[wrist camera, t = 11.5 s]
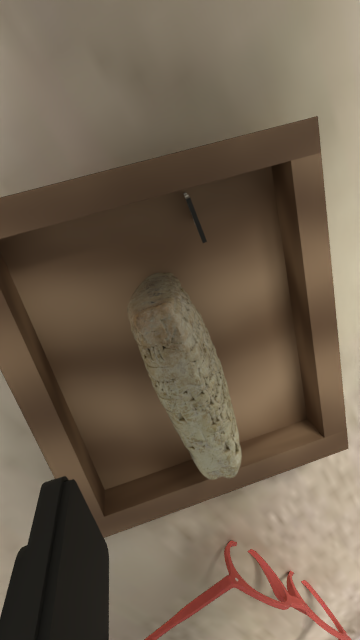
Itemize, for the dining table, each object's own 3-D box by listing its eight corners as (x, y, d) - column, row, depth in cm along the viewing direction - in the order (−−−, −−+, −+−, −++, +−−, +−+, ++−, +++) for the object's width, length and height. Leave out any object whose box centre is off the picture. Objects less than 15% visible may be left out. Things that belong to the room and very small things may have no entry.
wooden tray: (-42, 215, 16) (-76, 217, 13) (283, 131, 18) (317, 116, 15) (90, 500, 23) (87, 543, 20) (319, 419, 25) (348, 448, 22)
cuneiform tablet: (185, 192, 17) (259, 383, 21) (105, 227, 17) (192, 406, 22) (189, 197, 10) (296, 474, 14) (60, 255, 11) (198, 504, 15)
